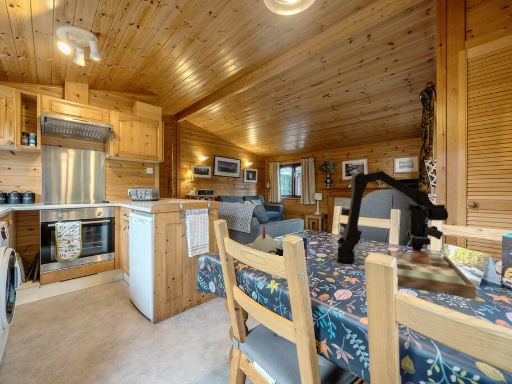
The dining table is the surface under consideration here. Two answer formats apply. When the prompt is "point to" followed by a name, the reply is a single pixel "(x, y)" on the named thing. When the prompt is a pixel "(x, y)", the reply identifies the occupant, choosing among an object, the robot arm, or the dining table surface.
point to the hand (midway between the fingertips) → (417, 256)
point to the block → (420, 256)
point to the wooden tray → (433, 276)
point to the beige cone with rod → (264, 243)
